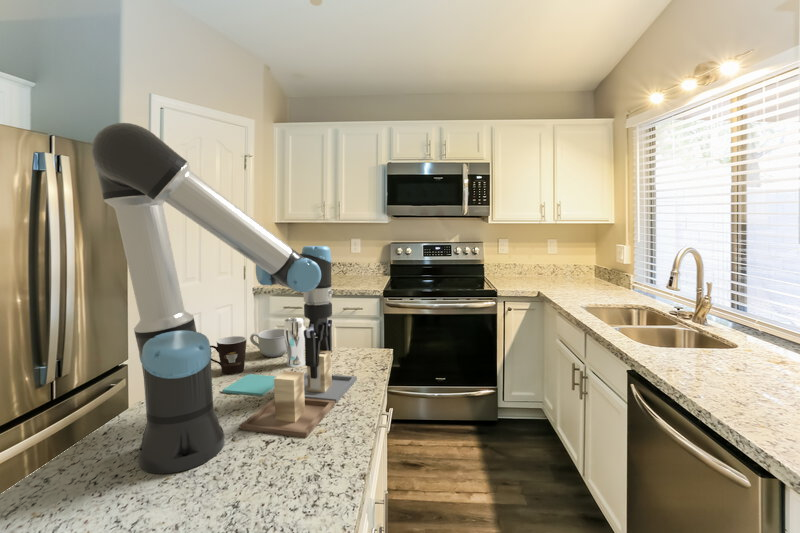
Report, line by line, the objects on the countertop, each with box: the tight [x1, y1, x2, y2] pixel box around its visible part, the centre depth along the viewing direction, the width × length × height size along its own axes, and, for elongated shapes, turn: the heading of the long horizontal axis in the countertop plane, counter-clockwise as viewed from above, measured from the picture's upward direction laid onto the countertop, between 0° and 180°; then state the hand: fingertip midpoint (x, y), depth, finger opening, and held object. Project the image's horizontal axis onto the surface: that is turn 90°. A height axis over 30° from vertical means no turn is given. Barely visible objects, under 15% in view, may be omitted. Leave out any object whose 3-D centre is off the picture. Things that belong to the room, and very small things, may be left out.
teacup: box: [249, 328, 287, 358], centre depth 142 cm, size 14×11×8 cm
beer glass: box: [283, 316, 307, 368], centre depth 131 cm, size 7×7×15 cm
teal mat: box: [222, 373, 278, 397], centre depth 113 cm, size 12×12×1 cm
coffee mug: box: [210, 335, 247, 376], centre depth 125 cm, size 12×9×10 cm
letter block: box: [306, 350, 333, 392], centre depth 111 cm, size 5×5×10 cm
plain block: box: [273, 370, 305, 422], centre depth 94 cm, size 5×5×10 cm
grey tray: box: [304, 371, 358, 404], centre depth 111 cm, size 16×16×1 cm
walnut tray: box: [239, 397, 336, 438], centre depth 95 cm, size 16×16×1 cm
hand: (319, 384), depth 111 cm, fingers closed on letter block, 5 cm apart
